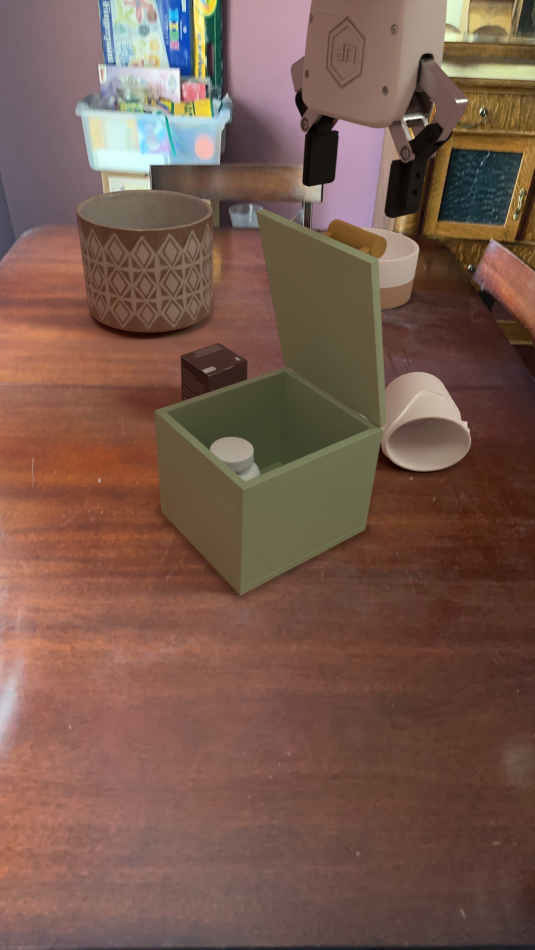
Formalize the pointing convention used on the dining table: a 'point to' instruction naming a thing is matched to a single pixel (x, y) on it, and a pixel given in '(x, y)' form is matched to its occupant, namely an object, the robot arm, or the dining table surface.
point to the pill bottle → (236, 456)
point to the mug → (422, 424)
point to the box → (210, 370)
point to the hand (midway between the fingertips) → (357, 198)
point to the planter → (147, 259)
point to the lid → (329, 307)
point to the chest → (266, 475)
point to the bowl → (396, 268)
